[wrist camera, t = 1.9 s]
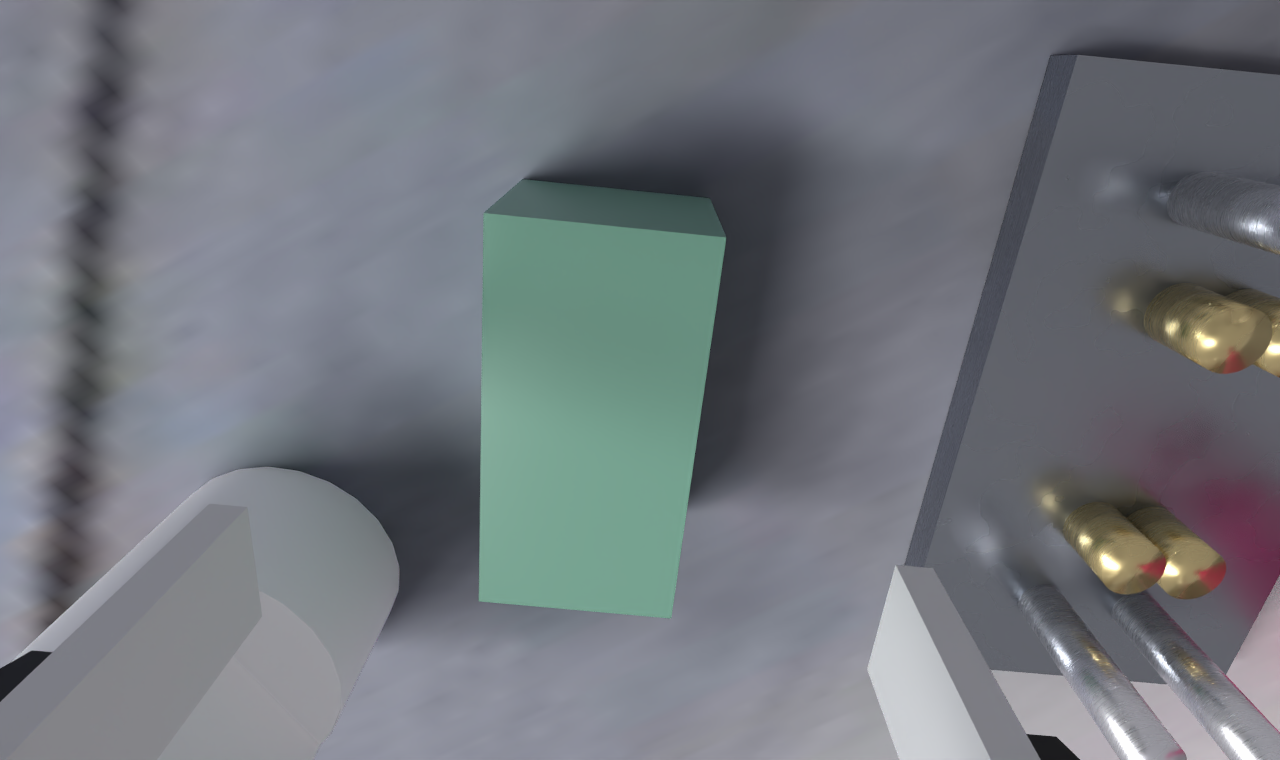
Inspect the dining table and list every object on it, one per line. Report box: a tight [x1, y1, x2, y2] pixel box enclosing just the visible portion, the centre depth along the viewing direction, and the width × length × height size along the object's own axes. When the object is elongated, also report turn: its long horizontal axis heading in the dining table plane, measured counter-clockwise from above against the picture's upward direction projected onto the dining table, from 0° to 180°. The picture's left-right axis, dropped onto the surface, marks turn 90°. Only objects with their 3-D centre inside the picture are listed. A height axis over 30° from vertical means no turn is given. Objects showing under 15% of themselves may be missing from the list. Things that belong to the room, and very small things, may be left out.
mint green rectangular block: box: [479, 179, 726, 618], centre depth 23 cm, size 12×6×6 cm, turn 174°
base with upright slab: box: [10, 467, 399, 760], centre depth 24 cm, size 9×9×12 cm
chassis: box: [904, 55, 1280, 760], centre depth 22 cm, size 22×13×8 cm, turn 175°
